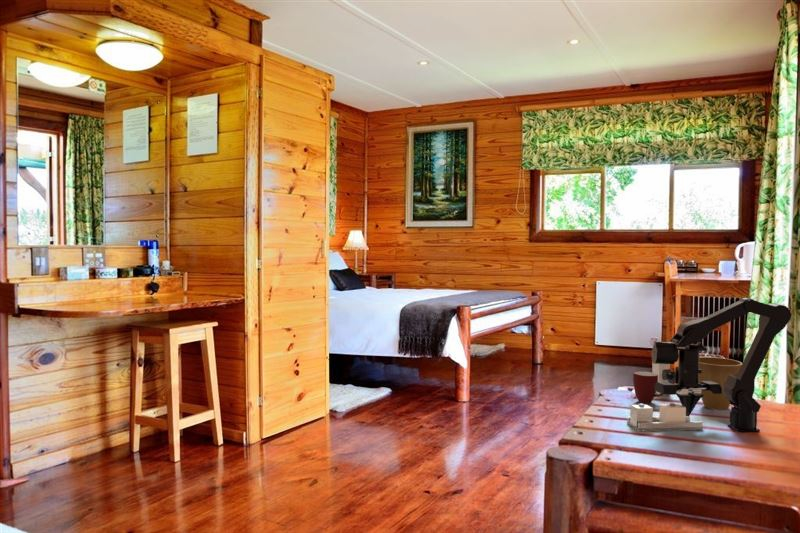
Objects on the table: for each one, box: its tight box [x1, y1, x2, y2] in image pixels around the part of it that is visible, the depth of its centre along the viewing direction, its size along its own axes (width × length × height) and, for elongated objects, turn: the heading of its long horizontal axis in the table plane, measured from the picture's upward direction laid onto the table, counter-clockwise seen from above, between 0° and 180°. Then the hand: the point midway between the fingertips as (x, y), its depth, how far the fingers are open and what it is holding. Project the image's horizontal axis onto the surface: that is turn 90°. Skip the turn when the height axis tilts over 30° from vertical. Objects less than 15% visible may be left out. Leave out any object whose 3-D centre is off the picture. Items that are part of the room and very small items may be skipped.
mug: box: [632, 370, 665, 404], centre depth 221 cm, size 10×8×10 cm
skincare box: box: [651, 360, 671, 395], centre depth 235 cm, size 6×4×12 cm
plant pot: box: [699, 356, 743, 411], centre depth 215 cm, size 15×15×16 cm
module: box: [659, 402, 686, 422], centre depth 191 cm, size 6×4×6 cm, turn 97°
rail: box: [626, 403, 704, 432], centre depth 191 cm, size 20×8×7 cm, turn 98°
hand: (687, 415), depth 192 cm, fingers closed
